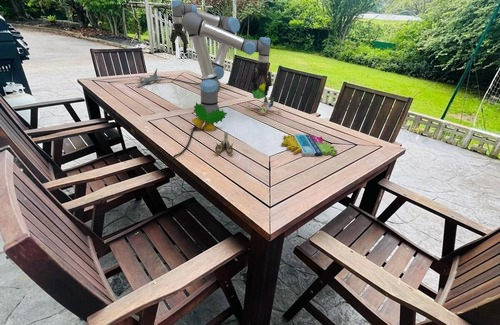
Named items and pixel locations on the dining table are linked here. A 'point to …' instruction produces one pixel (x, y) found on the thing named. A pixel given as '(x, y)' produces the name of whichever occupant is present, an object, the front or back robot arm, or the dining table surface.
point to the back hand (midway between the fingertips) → (179, 52)
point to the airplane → (149, 79)
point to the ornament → (207, 117)
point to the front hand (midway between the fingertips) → (260, 94)
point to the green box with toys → (259, 92)
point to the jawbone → (224, 145)
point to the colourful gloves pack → (308, 145)
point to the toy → (265, 107)
